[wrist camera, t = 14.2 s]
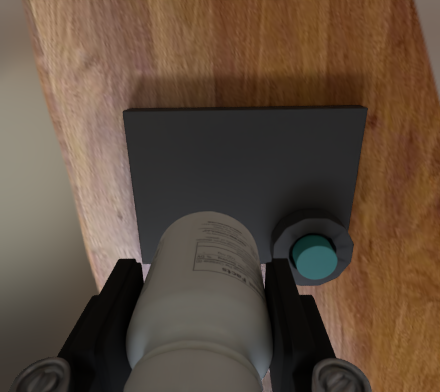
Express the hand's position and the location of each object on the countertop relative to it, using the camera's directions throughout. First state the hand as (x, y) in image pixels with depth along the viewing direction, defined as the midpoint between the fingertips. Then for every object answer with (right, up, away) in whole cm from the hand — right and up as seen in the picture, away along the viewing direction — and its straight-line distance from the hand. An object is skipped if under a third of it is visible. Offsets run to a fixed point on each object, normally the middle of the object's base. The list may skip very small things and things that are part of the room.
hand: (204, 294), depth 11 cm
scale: (+2, +4, +13) cm, 13 cm away
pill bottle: (0, +1, +3) cm, 3 cm away
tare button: (+7, 0, +12) cm, 14 cm away
